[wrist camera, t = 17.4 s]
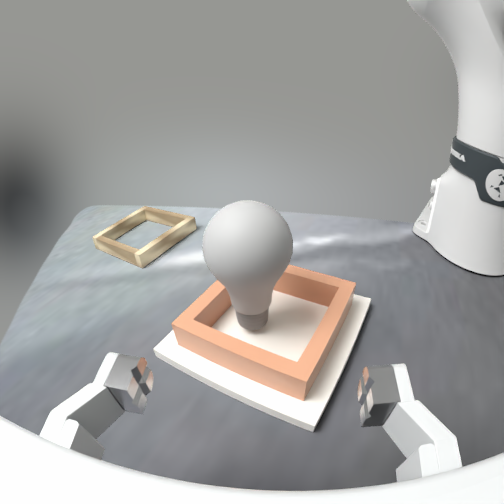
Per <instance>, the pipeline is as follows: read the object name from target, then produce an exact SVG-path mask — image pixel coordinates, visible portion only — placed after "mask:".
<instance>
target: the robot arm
mask: <svg viewBox="0 0 504 504" xmlns="http://www.w3.org/2000/svg"><path fill="white" fill-rule="evenodd" d="M407 2H408V4H409V5H410V7H411V8H412V9H413V10H414V11H415V12H416V13H417V14H418V15H419V16H420V17H421V18H422V19H424V20H425V21H426V22H427V23H428V24H429V25H430V26H431V27H432V28H433V29H434V30H435V31H436V32H437V34H438V35H439V36H440V38H441V39H442V40H443V42H444V43H445V45H446V47H447V49H448V51H449V53H450V55H451V57H452V60H453V63H454V65H455V69H456V73H457V78H458V89H459V113H458V128H457V136H455V137H454V138H453V143H452V146H451V155H450V163H451V165H450V167H449V169H448V170H447V171H446V172H445V173H444V174H442V175H441V178H438V179H437V180H436V179H433V181H432V185H431V190H430V193H431V194H434V196H433V197H432V198H431V199H430V201H429V202H428V204H427V205H426V207H425V208H424V210H423V211H422V213H421V215H420V216H419V218H418V219H417V221H416V222H415V224H414V227H413V232H414V233H415V234H417V235H418V236H420V237H421V238H423V239H425V240H427V241H428V242H429V243H430V244H431V245H432V246H433V247H434V248H435V249H436V250H437V251H438V252H439V253H440V254H441V255H442V256H444V257H445V258H447V259H448V260H450V261H451V262H453V263H455V264H457V265H459V266H461V267H463V268H465V269H468V270H470V271H473V272H476V273H480V274H485V275H504V0H407ZM146 365H147V362H146V360H145V358H142V357H136V356H130V355H123V354H118V353H112V352H109V353H108V354H107V355H106V357H105V359H104V361H103V363H102V365H101V367H100V369H99V371H98V374H97V376H96V378H95V380H94V382H93V384H92V383H89V384H88V385H87V386H85V387H84V388H82V389H81V390H80V391H78V392H77V393H75V394H74V395H73V396H71V397H70V398H68V399H67V400H66V401H64V402H63V403H62V404H60V405H59V406H57V407H56V408H55V409H53V410H52V411H51V412H50V414H49V416H48V418H47V421H46V423H45V425H44V427H43V429H42V432H41V434H40V436H39V435H37V434H34V433H32V432H30V431H28V430H26V429H24V428H22V427H20V426H18V425H16V424H14V423H12V422H11V421H9V420H7V419H5V418H3V417H1V416H0V504H504V453H501V454H498V455H496V456H493V457H490V458H488V459H485V460H482V461H479V462H476V463H473V464H470V465H467V466H463V467H462V463H461V458H460V453H459V448H458V444H457V439H456V436H455V435H454V434H453V433H451V432H450V431H449V430H448V429H447V428H446V427H445V426H444V425H443V424H442V423H441V422H440V421H439V420H438V419H437V418H436V417H435V416H434V415H433V414H432V413H431V412H430V411H429V410H428V409H427V408H426V407H425V406H424V405H423V404H422V403H421V402H420V401H419V400H415V399H414V395H413V391H412V387H411V383H410V379H409V375H408V371H407V368H406V365H405V364H393V365H391V364H389V365H377V366H366V367H365V368H364V370H363V377H362V378H361V379H360V381H359V384H358V402H359V403H360V404H361V405H362V408H361V410H360V419H361V427H370V426H382V427H383V428H384V429H385V431H386V432H387V433H388V434H389V436H390V437H391V438H392V440H393V441H394V442H395V444H396V445H397V446H398V447H399V449H400V450H401V451H402V453H403V454H404V455H405V457H406V458H407V459H406V460H405V461H404V462H403V463H402V464H401V465H400V466H399V467H398V468H397V469H396V477H397V482H396V483H389V484H383V485H376V486H368V487H360V488H349V489H337V490H318V491H271V490H252V489H239V488H229V487H220V486H212V485H205V484H198V483H192V482H186V481H181V480H176V479H171V478H166V477H161V476H157V475H152V474H148V473H144V472H140V471H136V470H132V469H129V468H125V467H122V466H118V465H115V464H112V463H109V462H105V461H102V460H101V459H102V456H103V453H104V450H105V449H104V447H103V446H102V445H101V444H100V443H99V442H98V441H97V440H96V439H97V438H98V437H99V436H100V435H101V434H102V433H103V432H104V431H105V430H106V429H107V428H108V427H110V426H111V425H112V424H113V423H114V422H115V421H116V420H117V419H118V418H119V417H120V416H121V415H122V414H123V413H124V411H128V412H133V413H138V414H143V413H144V410H145V407H146V404H147V398H146V395H147V394H148V393H150V392H151V389H152V386H153V375H152V372H151V370H150V369H149V368H148V367H146Z"/></svg>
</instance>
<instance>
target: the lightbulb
mask: <svg viewBox="0 0 504 504" xmlns="http://www.w3.org/2000/svg"><path fill="white" fill-rule="evenodd" d="M202 250H203V256H204V259H205V262H206V264H207V266H208V268H209V270H210V271H211V273H212V274H213V275H214V276H215V277H216V278H217V280H218V281H219V282H220V283H221V284H222V285H224V286H225V288H226V289H227V291H228V293H229V295H230V299H231V303H232V306H233V308H234V309H235V310H236V317H237V320H238V323H239V325H240V326H241V327H243V328H244V329H247V330H257V329H260V328H262V327H263V326H265V325H266V323H267V321H268V313H269V306H270V304H271V301H272V293H273V288H274V286H275V284H276V282H277V281H278V280H279V279H280V277H281V276H282V275H283V273H284V271H285V270H286V268H287V267H288V265H289V262H290V259H291V256H292V253H293V239H292V235H291V232H290V229H289V227H288V224H287V222H286V221H285V220H284V218H283V217H282V216H281V215H280V214H279V213H278V212H277V211H276V210H275V209H274V208H272V207H270V206H268V205H266V204H264V203H261V202H257V201H249V200H244V201H238V202H234V203H231V204H229V205H227V206H225V207H224V208H222V209H220V210H219V211H218V212H217V213H216V214H215V215H214V216H213V217H212V219H211V220H210V221H209V223H208V225H207V227H206V229H205V232H204V236H203V246H202Z"/></svg>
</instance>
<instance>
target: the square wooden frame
mask: <svg viewBox="0 0 504 504" xmlns="http://www.w3.org/2000/svg"><path fill="white" fill-rule="evenodd" d="M145 220H149V221H153V222H157V223H160V224H164V225H168V226H172V227H173V228H171V229H170V230H168V231H167V232H165V233H164V234H162V235H161V236H159V237H158V238H156V239H155V240H153V241H152V242H150V243H149V244H147V245H146V246H144V247H143V248H142V249H140V250H139V249H136V248H133V247H130V246H128V245H125V244H122V243H120V242H117V241H114V240H115V239H117V238H118V237H120V236H121V235H123V234H124V233H126V232H128V231H129V230H131V229H132V228H134V227H136V226H137V225H139V224H140V223H142V222H144V221H145ZM194 230H196V222H195V217H191V216H187V215H182V214H178V213H173V212H169V211H164V210H160V209H155V208H151V207H146V206H144V207H142V208H140V209H139V210H137V211H135V212H133V213H132V214H130V215H128V216H127V217H125V218H123V219H121V220H120V221H118V222H116V223H115V224H113V225H111V226H110V227H108V228H106V229H105V230H103V231H101V232H100V233H98V234H97V235H95V236H93V241H94V244H95V247H96V248H97V249H99V250H101V251H103V252H106V253H108V254H110V255H113V256H115V257H117V258H120V259H122V260H124V261H127V262H129V263H131V264H134V265H136V266H138V267H141V268H144V267H145V266H146V265H148V264H149V263H150V262H152V261H153V260H154V259H156V258H157V257H159V256H160V255H161V254H163V253H164V252H165V251H167V250H168V249H169V248H171V247H172V246H174V245H175V244H176V243H178V242H179V241H180V240H182V239H183V238H185V237H186V236H187V235H189V234H190V233H192V232H193V231H194Z"/></svg>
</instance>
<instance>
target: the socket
mask: <svg viewBox="0 0 504 504" xmlns="http://www.w3.org/2000/svg"><path fill="white" fill-rule="evenodd" d="M355 287H356V283H354V282H351V281H347V280H344V279H340V278H336V277H333V276H329V275H325V274H322V273H318V272H314V271H311V270H307V269H304V268H300V267H296V266H293V265H288V267H287V268H286V270H285V271H284V273H283V275H282V276H281V277H280V279H279V280H278V281H277V282H276V284H275V286H274V288H273V293H272V301H271V304H270V306H269V313H268V321H267V323H266V325H265V326H263V327H262V328H260V329H257V330H247V329H244V328H243V327H241V326H240V325H239V323H238V320H237V317H236V310H235V309H234V308H233V306H232V303H231V299H230V295H229V293H228V291H227V289H226V288H225V286H224V285H222V284H221V283H220V282H219V281H218V280H217V281H216V282H215V283H214V284H212V285H211V286H210V287H209V288H208V289H207V290H206V291H205V292H204V293H203V294H202V295H201V296H200V297H199V298H198V299H197V300H196V301H195V302H193V303H192V304H191V305H190V306H189V307H188V308H187V309H186V310H185V311H184V312H183V313H182V314H181V315H180V316H179V317H178V318H177V319H176V320H175V321H174V322H172V323H171V324H172V327H173V330H172V331H171V332H170V333H169V334H168V335H167V336H166V337H165V338H164V339H163V340H162V341H161V342H160V343H159V344H158V345H157V346H156V347H155V348H154V352H155V354H156V357H158V358H160V359H161V360H163V361H165V362H167V363H168V364H170V365H172V366H173V367H175V368H177V369H179V370H181V371H182V372H184V373H186V374H188V375H190V376H191V377H193V378H195V379H197V380H199V381H201V382H203V383H205V384H207V385H208V386H210V387H212V388H214V389H216V390H218V391H220V392H222V393H224V394H226V395H228V396H230V397H232V398H234V399H237V400H239V401H241V402H243V403H245V404H247V405H249V406H252V407H254V408H256V409H258V410H260V411H263V412H265V413H267V414H269V415H272V416H274V417H276V418H279V419H281V420H284V421H286V422H288V423H291V424H293V425H296V426H298V427H301V428H304V429H306V430H309V431H311V432H313V431H314V430H315V428H316V426H317V424H318V422H319V420H320V418H321V416H322V414H323V412H324V410H325V408H326V406H327V404H328V402H329V400H330V398H331V396H332V394H333V392H334V390H335V387H336V385H337V383H338V381H339V379H340V377H341V374H342V372H343V370H344V368H345V365H346V363H347V361H348V359H349V356H350V354H351V352H352V349H353V347H354V344H355V342H356V340H357V337H358V335H359V332H360V330H361V327H362V325H363V322H364V320H365V317H366V314H367V312H368V309H369V306H370V302H371V299H369V298H366V297H362V296H359V295H355V294H354V292H355Z"/></svg>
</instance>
